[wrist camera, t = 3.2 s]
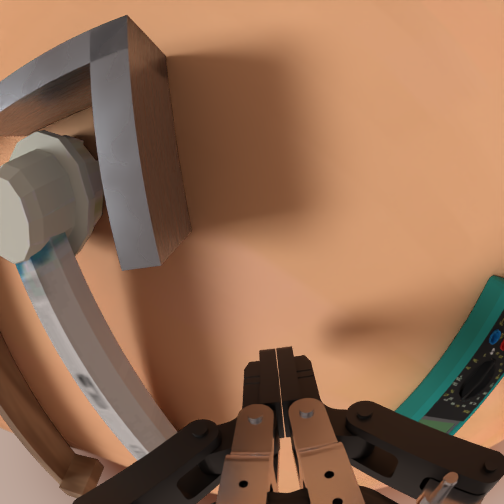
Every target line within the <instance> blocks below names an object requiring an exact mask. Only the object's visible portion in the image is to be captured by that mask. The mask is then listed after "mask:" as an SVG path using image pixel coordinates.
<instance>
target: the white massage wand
mask: <svg viewBox="0 0 504 504" xmlns="http://www.w3.org/2000/svg"><path fill="white" fill-rule="evenodd" d="M83 143H84V141H83V140H80V139H77V138H73V137H70V136H67V135H63V136H61V135H58V134H55V133H52V132H48V131H45V130H42V131H36V132H34V133H33V134H31V135H29V136H27V137H26V138H24V139H22V140H21V141H19V142H18V143H17V144H16V146H15V149H14V151H13V153H12V155H11V158H10V160H9V162H7V163H5V164H3V165H2V166H0V256H1V257H3V258H4V259H6V260H8V261H10V262H11V263H13V264H16V267H17V269H18V272H19V274H20V277H21V279H22V282H23V284H24V286H25V289H26V291H27V293H28V296H29V298H30V300H31V302H32V304H33V306H34V309H35V311H36V313H37V315H38V317H39V319H40V321H41V323H42V325H43V327H44V329H45V331H46V332H47V334H48V336H49V338H50V340H51V342H52V343H53V345H54V347H55V349H56V351H57V352H58V354H59V356H60V357H61V359H62V361H63V362H64V364H65V366H66V367H67V369H68V370H69V372H70V374H71V375H72V377H73V378H74V380H75V381H76V383H77V384H78V386H79V387H80V389H81V390H82V392H83V393H84V395H85V396H86V397H87V399H88V400H89V402H90V403H91V404H92V406H93V407H94V409H95V410H96V411H97V413H98V414H99V415H100V417H101V418H102V419H103V420H104V422H105V423H106V424H107V426H108V427H109V428H110V429H111V430H112V432H113V433H114V434H115V435H116V437H117V438H118V439H119V440H120V441H121V442H122V444H123V445H124V446H125V447H126V448H127V449H128V450H129V452H130V453H131V454H132V455H133V456H134V457H135V458H136V459H137V460H139V459H141V458H142V457H144V456H145V455H147V454H148V453H150V452H151V451H152V450H154V449H155V448H157V447H158V446H159V445H161V444H162V443H164V442H165V441H166V440H168V439H169V438H171V437H172V436H173V435H175V434H176V433H177V431H176V429H175V428H174V427H173V425H172V424H171V423H170V421H169V420H168V419H167V417H166V416H165V415H164V413H163V412H162V411H161V409H160V408H159V406H158V405H157V404H156V402H155V401H154V399H153V398H152V396H151V395H150V393H149V392H148V391H147V389H146V388H145V386H144V385H143V383H142V381H141V380H140V378H139V377H138V375H137V374H136V372H135V371H134V369H133V367H132V366H131V364H130V363H129V361H128V359H127V358H126V356H125V354H124V353H123V351H122V349H121V348H120V346H119V344H118V342H117V341H116V339H115V337H114V335H113V334H112V332H111V330H110V328H109V326H108V324H107V323H106V321H105V319H104V317H103V315H102V313H101V311H100V309H99V307H98V305H97V303H96V301H95V299H94V297H93V295H92V293H91V291H90V289H89V287H88V285H87V283H86V281H85V278H84V276H83V274H82V272H81V269H80V267H79V265H78V263H77V260H76V258H75V256H76V255H77V254H78V253H79V252H80V251H81V249H82V248H83V246H84V244H85V243H86V241H87V240H88V238H89V236H90V235H91V233H92V232H93V228H94V226H95V224H96V223H97V221H98V220H99V219H100V217H101V216H102V214H103V213H102V204H103V193H104V190H103V184H102V179H101V173H100V166H99V160H98V161H96V160H95V159H94V158H93V156H92V155H91V154H90V152H89V151H88V150H87V149H86V147H85V146H84V145H83Z"/></svg>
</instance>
